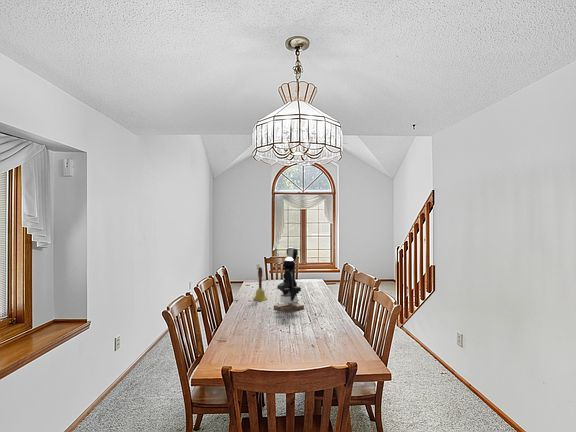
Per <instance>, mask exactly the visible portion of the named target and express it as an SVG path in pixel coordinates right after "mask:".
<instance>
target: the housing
mask: <svg viewBox="0 0 576 432" xmlns="http://www.w3.org/2000/svg"><path fill="white" fill-rule="evenodd" d="M297 300H298V294H296V295H295V298H294V300H293V301H291V293H290V294H283V293H282V294H280V303H281V304H284V303H285V304H286V303H297V302H298V301H297Z"/></svg>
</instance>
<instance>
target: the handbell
mask: <svg viewBox="0 0 576 432" xmlns="http://www.w3.org/2000/svg"><path fill="white" fill-rule="evenodd" d="M257 277H258V289H256V290H255V296H253V298H252V299H253V300H252V301H254V300H257V301H256V302H265V300H266V301H268V300H269V298H268V297H267V296H266V295H265V290H264V289H263V287H262V286H263V285H262V280H263V279H262V278H263V268H262V267H261V266H260V267H258V271H257Z"/></svg>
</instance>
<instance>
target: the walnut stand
mask: <svg viewBox="0 0 576 432" xmlns="http://www.w3.org/2000/svg"><path fill="white" fill-rule="evenodd" d="M304 309H305V304H301V303H300V304H299V303H297V302H292V303H286V304H285V303H280V304H274V305H273V310H277V311H280V312H283V313H292V312H296V311H300V310H304Z"/></svg>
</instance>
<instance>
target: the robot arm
mask: <svg viewBox="0 0 576 432" xmlns="http://www.w3.org/2000/svg"><path fill="white" fill-rule="evenodd" d="M298 255H299V251H298V249H296V248H295V247H288V248H287V249H286V258H284V261H283V264H282V271H284V273H283V275H282V277H283V281H282V282H280V283H279V284H278V285H277V290H279V291H281V292H282V295H283V294H290V293H291V301H293V300H294V298H295V295H296V294H297V295H298V294H299V293H300V292H301V291H302V288H301V286H298V283H297V281H296V260H297V258H298ZM297 302H299V300H298V299H297Z"/></svg>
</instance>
